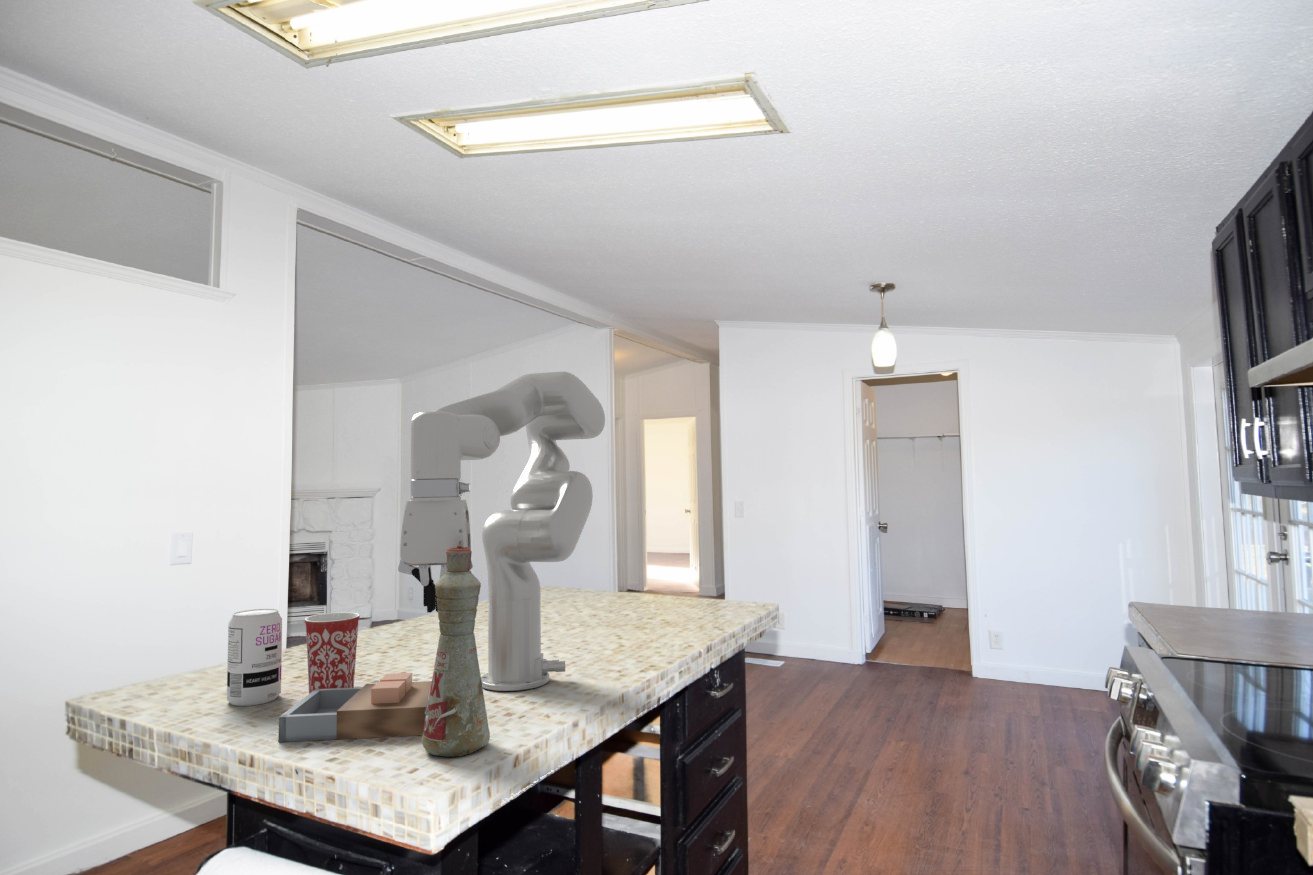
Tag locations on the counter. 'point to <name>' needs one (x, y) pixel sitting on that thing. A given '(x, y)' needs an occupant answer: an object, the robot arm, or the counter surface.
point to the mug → (331, 650)
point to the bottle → (456, 666)
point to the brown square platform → (383, 714)
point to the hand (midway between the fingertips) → (435, 610)
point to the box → (314, 715)
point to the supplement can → (254, 657)
